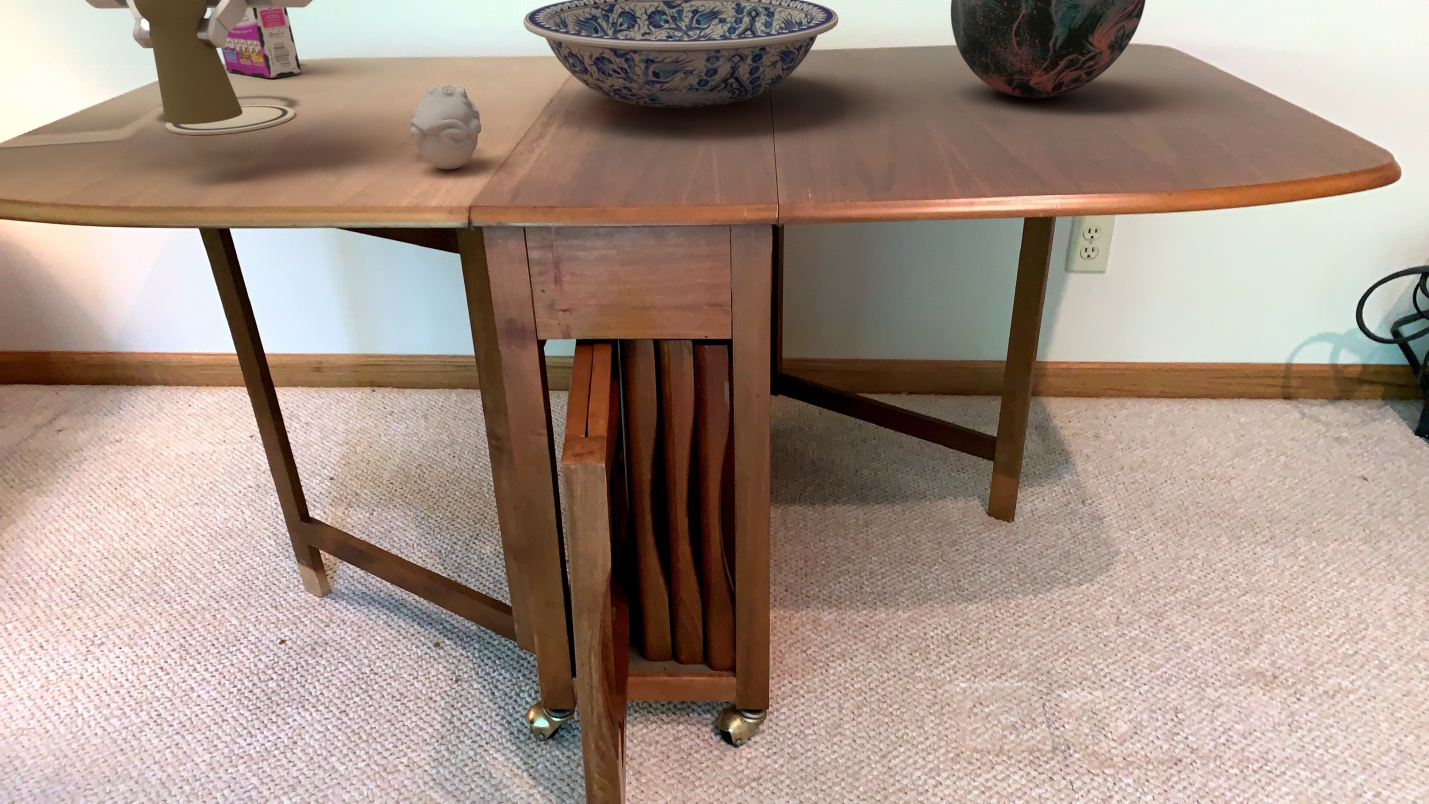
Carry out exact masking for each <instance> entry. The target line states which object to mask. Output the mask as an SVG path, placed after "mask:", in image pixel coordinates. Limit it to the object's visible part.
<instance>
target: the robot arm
mask: <svg viewBox="0 0 1429 804" xmlns="http://www.w3.org/2000/svg"><path fill="white" fill-rule="evenodd" d="M84 1H85V2H86V3H88V4H89V5H90V6H91V7H93V8H95V9H106V10H107V9H110V10H111V9H129V10H130V12H131V15H132V17H133V18H134V26H133V29H132V36H133V39H134V41H135V42H136V43H137V44H138V45H139V46H140V47H142V49H153V46H152V40H151V34H150V28H149V22H147V21H146V20H145V19H144V18H143V17H142V16H141V15H140V14H139V12H138V10H137V8H136V7H135V4H134V1H133V0H84ZM313 1H314V0H207V9H210V8H215V10H214V11H213V12H212V13H210V15H209V16H208V17H204V18H201V19H200V21H199V24H198V26H199V28H198V29H197V31H196V36H197V38H198V40H200V41H201V42H203V43H204V44H205V45H207V46H208V47H210V48H216V49H221V48H225V46H226V41H227V36H228V32H230V31H231V30H232V29H233V28H234V27H235V26H236V25H237V24H238V23H239V22H240V21H241V20H242V19H243V18H244V16H245V13H246V8H286V9H287V8H288V9H289V8H295V9H296V8H297V9H298V8H299V9H300V8H306V7H307V6H309V5H310V4H311V3H312V2H313Z"/></svg>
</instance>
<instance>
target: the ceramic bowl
mask: <svg viewBox="0 0 1429 804" xmlns="http://www.w3.org/2000/svg"><path fill="white" fill-rule="evenodd" d="M838 23H839V15H838V12H836V10H833V9H831V8H830V7H828V6H825V5H822V4H819V3H815V2H812V1H807V0H564V1H559V2H554V3H550V4H547V5H544V6H540V7H538V8H536V9H533V10H531V11H529V12H528V13H526V14H525V16H523V26H524V28H525V29H526V30H527V31H528V32H529V33H531V34H534V35H536V36H538V37H541V38H544V39H545V40H546V42H547V45H548V46H549V48H550V49H551V51H552V52H553V55H554V56H555V57H556V59H557V60H558V61H559V62H560V63H561V65H562V66H563V67H564V68H565V69H566V70H567V72H568V73H570V74H571V75H572V76H573V77H575V79H577V80H578V81H579V82H580V83H582V84H583V85H584V86H586V87H587V88H588V89H590V90H592V91H594V92H595V93H598V94H600V95H602V96H603V97H604V96H605V97H607V98H608V99H612V100H615V101H619V102H623V103H626V104H631V105H635V106H643V107H650V108H661V109H662V108H663V109H696V108H697V109H698V108H710V107H718V106H725V105H730V104H735V103H738V102H739V103H740V102H744V101H746V100H750V99H752V98H755V97H758V96H760V95H762V94H765V93H767V92H768V91H770V90H772V89H773V88H775V87H777V86H778V85H779V84H781V83H782V82H783V81H784V80H786V79H787V78H788V77H789V76H791V74H792V73H793V72H794V71H796V70H797V68H798V67H799V66H800V65H801V64H802V62H803V61H804V60H805V59H806V57H807V56H808V54H809V52H810V51H811V50H812V48H813V46H814V44H815V42H816V40H817V38H818V36H819V35H822V34H825V33H828V32H829V31H832V30H833V29H834V28H836V26H837V25H838Z"/></svg>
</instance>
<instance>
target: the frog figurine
mask: <svg viewBox="0 0 1429 804" xmlns="http://www.w3.org/2000/svg"><path fill="white" fill-rule="evenodd" d="M468 96H469V95H468V92H467V91H466V88H464V87H455V86H452V85H450V84H445V85H444V84H441V85H440V84H439V85H437V86H433V87H430V88H428V89H426V92H425V95H424V97H422V99H421V100H420V102H419V103H418V104H417V105H416V107H415V108H414V110H413V113H412V119H411V121H410V129H409V134H410V136H411V138H413V144H414V145H415V146H416V147H417V148H418V150H419V152H420V154H421V155H422V157H423V158H424V159H425V160H426V161H427V162H428V163H429V164H430V165H432V166H434V167H435V168H438V169H443V170H456V169H458V168H461V167H463V166H465V165H466V164H467V163H468V162H469V161H470V160H471V158H472V157H473V155H474V153H475V151H476V149H477V146H478V145H479V143H478V139H479V134H480V133H481V131H482V124H481V115H480V111H479V108H478V107H477V106H476V104H475V103H474V102H473V101H472V100H471V99H470V98H469V97H468Z"/></svg>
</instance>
